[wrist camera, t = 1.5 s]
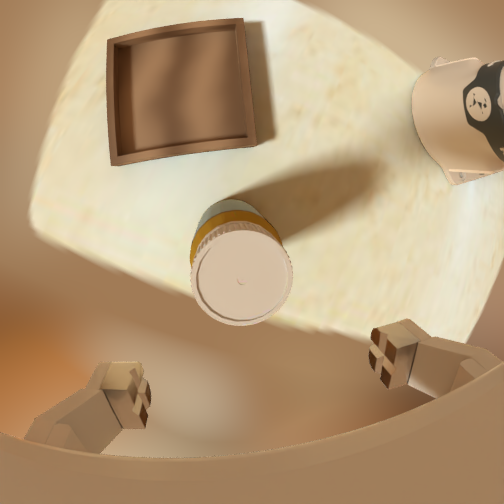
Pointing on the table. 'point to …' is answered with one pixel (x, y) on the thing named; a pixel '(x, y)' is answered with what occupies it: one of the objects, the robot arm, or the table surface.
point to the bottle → (238, 265)
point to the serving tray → (179, 91)
